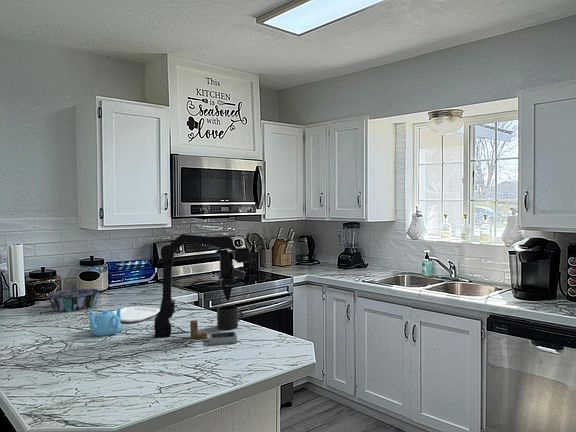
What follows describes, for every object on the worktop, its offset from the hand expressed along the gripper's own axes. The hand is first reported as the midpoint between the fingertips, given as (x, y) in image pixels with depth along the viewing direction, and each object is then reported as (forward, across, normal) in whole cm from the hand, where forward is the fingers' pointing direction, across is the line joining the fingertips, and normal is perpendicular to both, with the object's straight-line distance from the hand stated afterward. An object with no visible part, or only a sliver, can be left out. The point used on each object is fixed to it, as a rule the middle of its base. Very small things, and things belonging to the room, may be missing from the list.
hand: (227, 298), depth 208 cm
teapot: (+15, +12, +54) cm, 58 cm away
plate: (+15, +39, +45) cm, 62 cm away
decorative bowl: (+15, +69, +79) cm, 106 cm away
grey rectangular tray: (+15, -15, +3) cm, 21 cm away
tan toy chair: (+15, -7, +13) cm, 21 cm away
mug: (+15, +6, -2) cm, 16 cm away
